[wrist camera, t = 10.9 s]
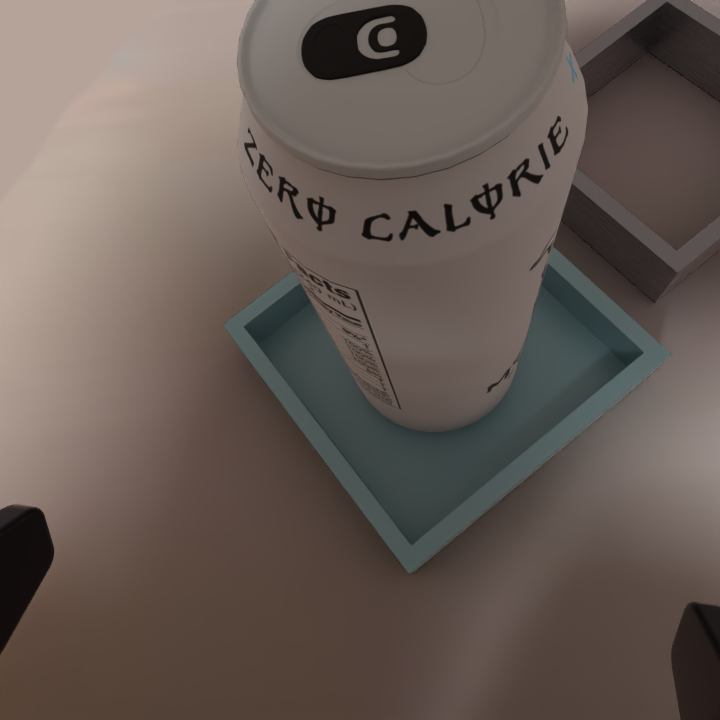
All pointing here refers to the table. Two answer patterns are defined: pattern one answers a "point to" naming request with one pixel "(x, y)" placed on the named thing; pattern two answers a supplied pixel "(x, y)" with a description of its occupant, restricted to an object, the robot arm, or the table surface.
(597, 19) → the table surface
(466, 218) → the energy drink can
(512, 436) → the tray
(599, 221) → the open box
